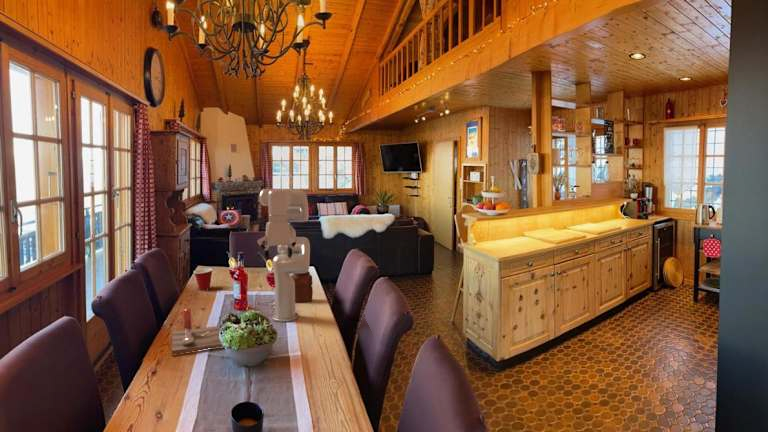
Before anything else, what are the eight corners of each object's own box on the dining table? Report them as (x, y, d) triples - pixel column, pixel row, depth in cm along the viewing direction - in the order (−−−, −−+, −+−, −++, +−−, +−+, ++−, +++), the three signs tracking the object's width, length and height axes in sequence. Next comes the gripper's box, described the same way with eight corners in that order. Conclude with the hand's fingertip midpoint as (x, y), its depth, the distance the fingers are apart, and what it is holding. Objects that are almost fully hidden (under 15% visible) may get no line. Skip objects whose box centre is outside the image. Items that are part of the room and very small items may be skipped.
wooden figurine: (311, 298, 253) (311, 267, 251) (312, 302, 247) (312, 269, 245) (290, 300, 250) (289, 268, 248) (291, 303, 244) (290, 271, 242)
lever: (182, 331, 195) (181, 309, 194) (192, 330, 196) (191, 307, 195) (183, 346, 179) (182, 321, 178) (194, 344, 181) (193, 320, 180)
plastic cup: (193, 288, 273) (192, 268, 271) (212, 286, 277) (212, 267, 276) (194, 292, 263) (193, 272, 262) (214, 290, 268) (213, 270, 266)
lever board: (172, 336, 196) (172, 331, 195) (219, 330, 204) (219, 325, 203) (172, 355, 176) (171, 350, 176) (223, 348, 184) (223, 342, 183)
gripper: (295, 217, 200) (295, 255, 202) (255, 219, 192) (256, 258, 194) (299, 219, 193) (300, 258, 195) (259, 220, 185) (260, 261, 187)
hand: (278, 258), depth 194 cm, fingers open, 9 cm apart
